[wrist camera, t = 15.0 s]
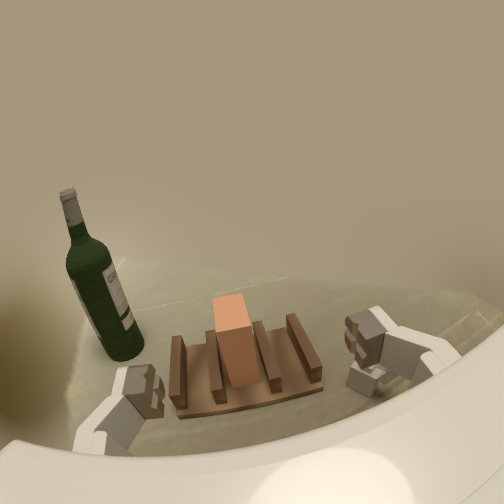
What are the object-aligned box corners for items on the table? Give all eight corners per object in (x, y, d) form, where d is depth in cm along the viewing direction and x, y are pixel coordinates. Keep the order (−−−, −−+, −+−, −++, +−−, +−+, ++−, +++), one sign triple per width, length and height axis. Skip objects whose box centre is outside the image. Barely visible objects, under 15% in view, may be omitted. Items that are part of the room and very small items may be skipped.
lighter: (346, 385, 33) (353, 347, 30) (352, 377, 34) (360, 338, 31) (387, 406, 28) (403, 369, 25) (393, 397, 29) (409, 360, 26)
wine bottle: (151, 347, 44) (94, 181, 32) (116, 368, 40) (44, 200, 27) (134, 328, 50) (85, 181, 37) (103, 346, 45) (43, 197, 32)
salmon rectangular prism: (251, 349, 41) (241, 293, 36) (260, 382, 35) (251, 325, 30) (226, 354, 41) (212, 298, 36) (232, 388, 34) (216, 332, 30)
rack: (293, 329, 46) (293, 309, 44) (322, 390, 33) (325, 370, 31) (180, 351, 43) (172, 332, 41) (179, 419, 31) (168, 402, 29)
